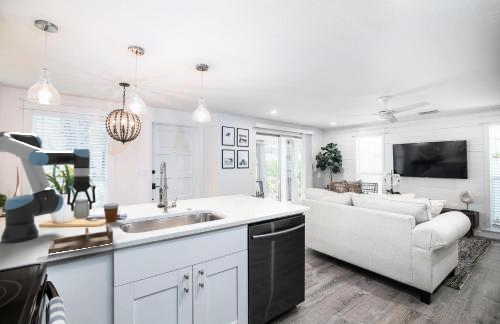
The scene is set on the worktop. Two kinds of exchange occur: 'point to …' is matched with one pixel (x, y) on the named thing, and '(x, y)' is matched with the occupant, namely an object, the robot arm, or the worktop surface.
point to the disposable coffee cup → (111, 212)
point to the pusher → (87, 234)
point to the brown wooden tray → (81, 241)
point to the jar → (81, 208)
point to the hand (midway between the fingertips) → (81, 215)
